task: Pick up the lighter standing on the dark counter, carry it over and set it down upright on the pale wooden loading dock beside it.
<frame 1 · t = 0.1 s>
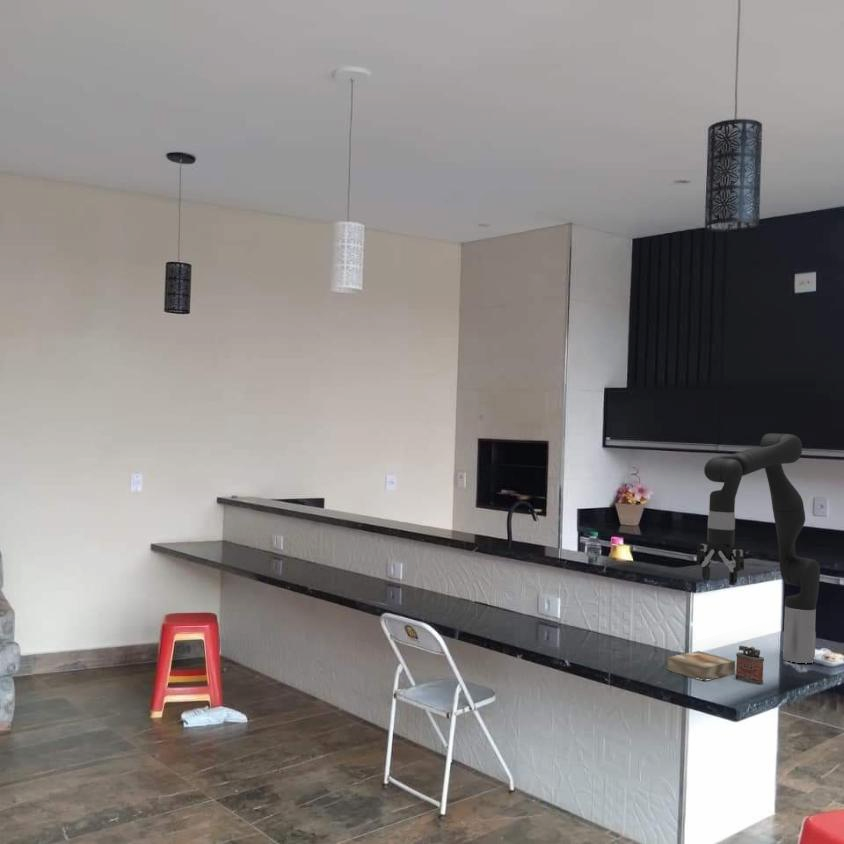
hand: (719, 582, 260), 29 cm above the worktop, tool pointing down, fingers open, 8 cm apart
dock: (701, 672, 270), on the worktop
lighter: (749, 681, 262), on the worktop
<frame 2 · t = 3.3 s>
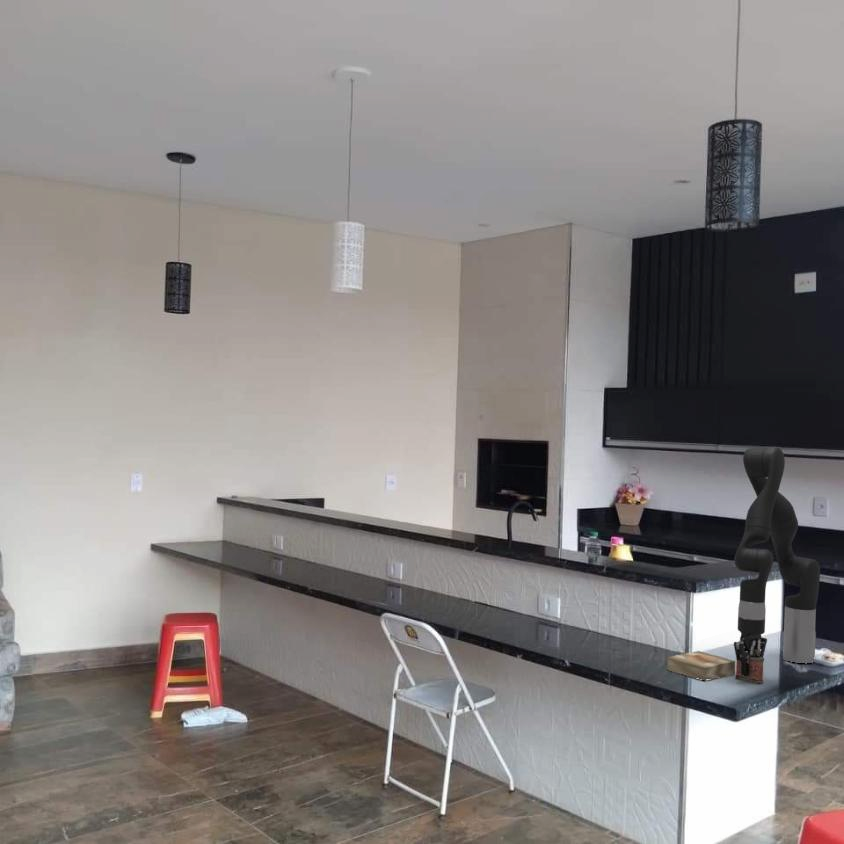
hand: (749, 674, 262), 2 cm above the worktop, tool pointing down, fingers closed on lighter, 3 cm apart
lighter: (749, 681, 262), on the worktop, touching gripper
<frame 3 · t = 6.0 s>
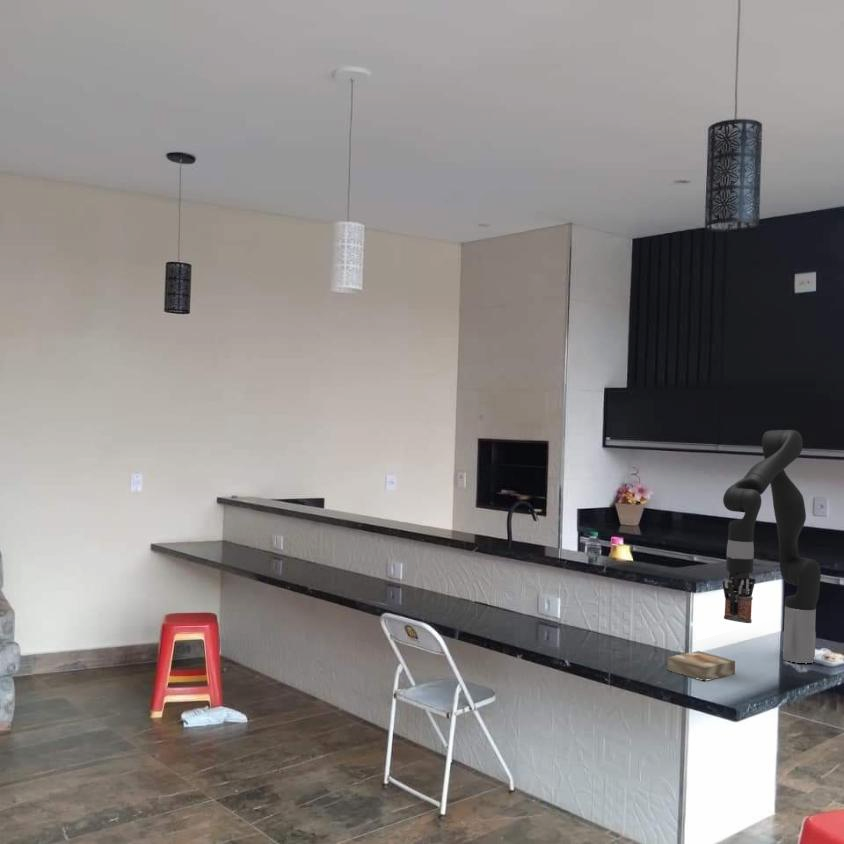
hand: (737, 613, 264), 19 cm above the worktop, tool pointing down, fingers closed on lighter, 3 cm apart
lighter: (737, 621, 264), point 17 cm above the worktop, touching gripper
when the fingers open (7 cm above the worktop, at t = 9.2 s): lighter stays where it is, resting on dock.
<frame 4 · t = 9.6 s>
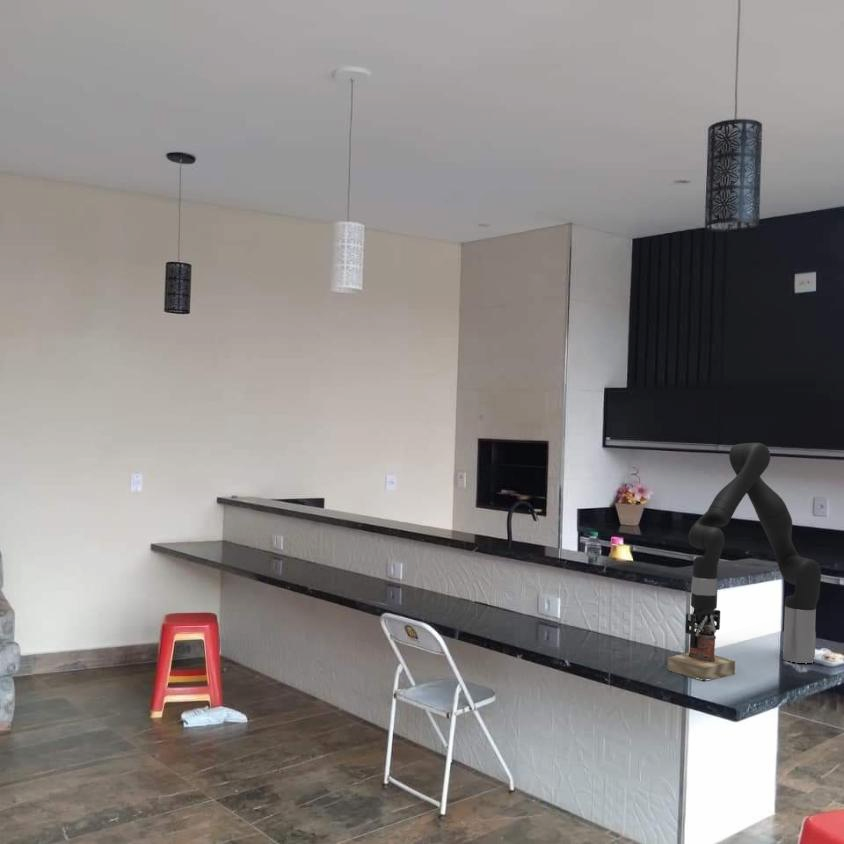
hand: (702, 646, 270), 8 cm above the worktop, tool pointing down, fingers open, 7 cm apart
lighter: (701, 659, 270), point 4 cm above the worktop, touching dock
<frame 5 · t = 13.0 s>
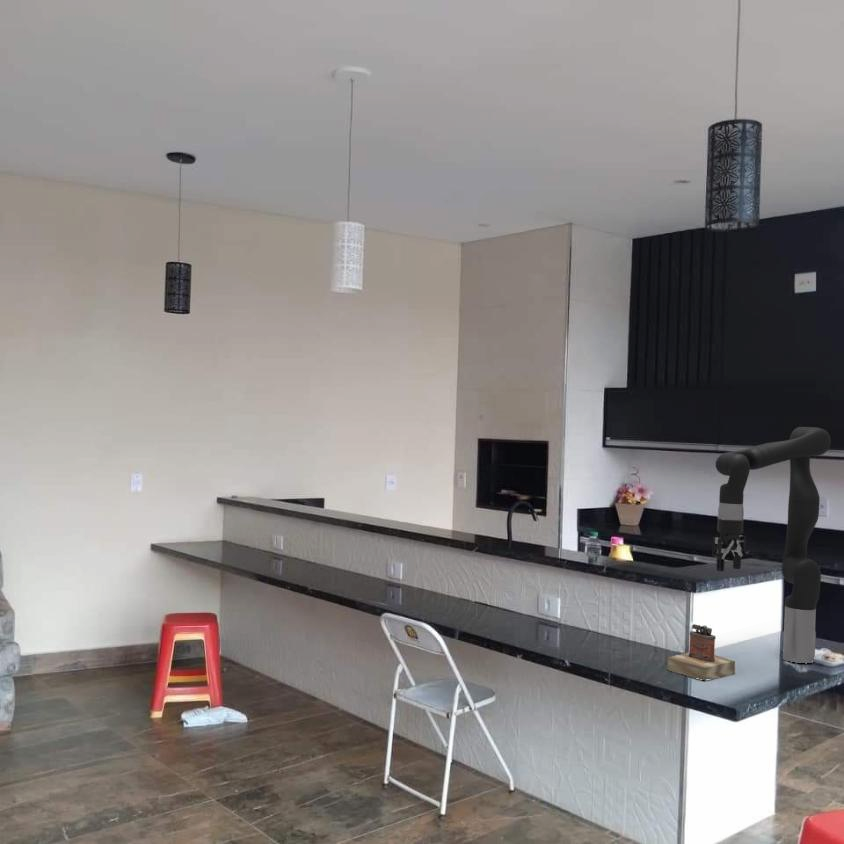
hand: (728, 569, 277), 30 cm above the worktop, tool pointing down, fingers open, 8 cm apart
nothing on the worktop moved.
at the end: lighter inside the target area on the dock (0.1 cm from its centre), point 3.9 cm above the dock's base; lighter tilted 0°; the gripper is holding nothing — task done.
